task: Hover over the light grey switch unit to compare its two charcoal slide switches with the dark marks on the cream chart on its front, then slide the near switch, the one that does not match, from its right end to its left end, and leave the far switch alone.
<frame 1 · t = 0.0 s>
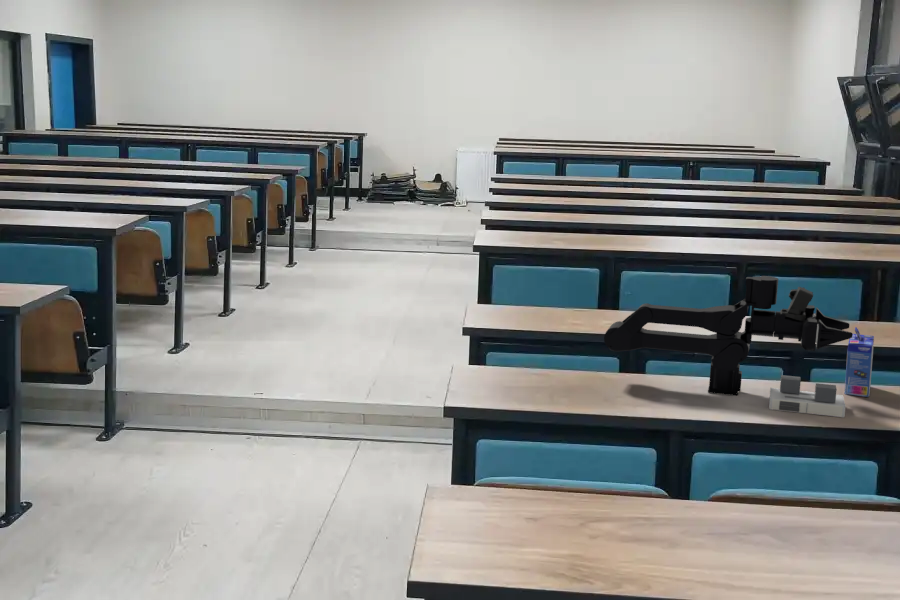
hand: (850, 330, 205), 17 cm above the table, tool horizontal, fingers open, 9 cm apart
switch far: (790, 384, 207), point 4 cm above the table, slide at 0.0 cm
switch near: (825, 392, 201), point 4 cm above the table, slide at 7.0 cm
switch unit: (805, 407, 205), on the table
ink cartridge box: (856, 391, 218), on the table
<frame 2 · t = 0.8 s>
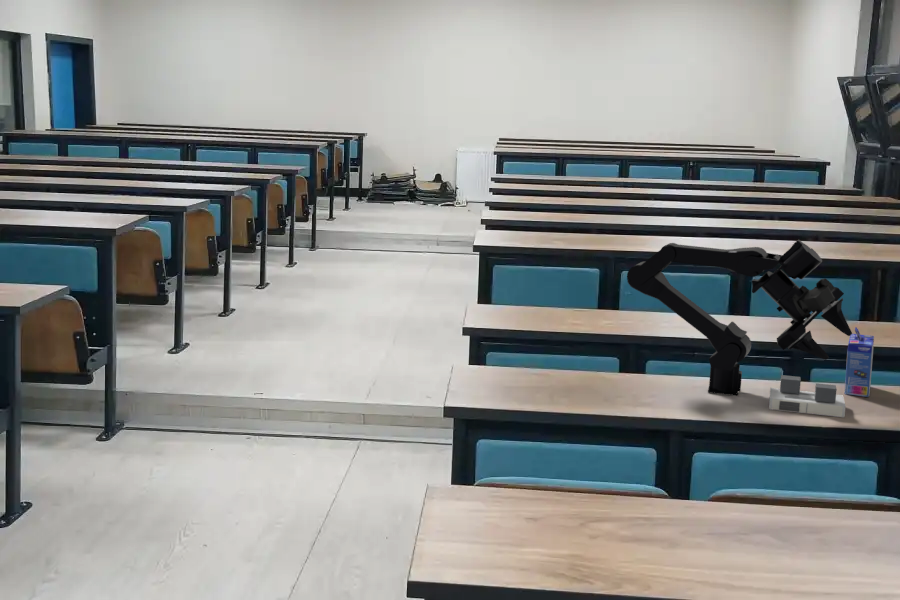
hand: (839, 346, 203), 14 cm above the table, tool tilted 50°, fingers open, 9 cm apart
nothing on the table moved.
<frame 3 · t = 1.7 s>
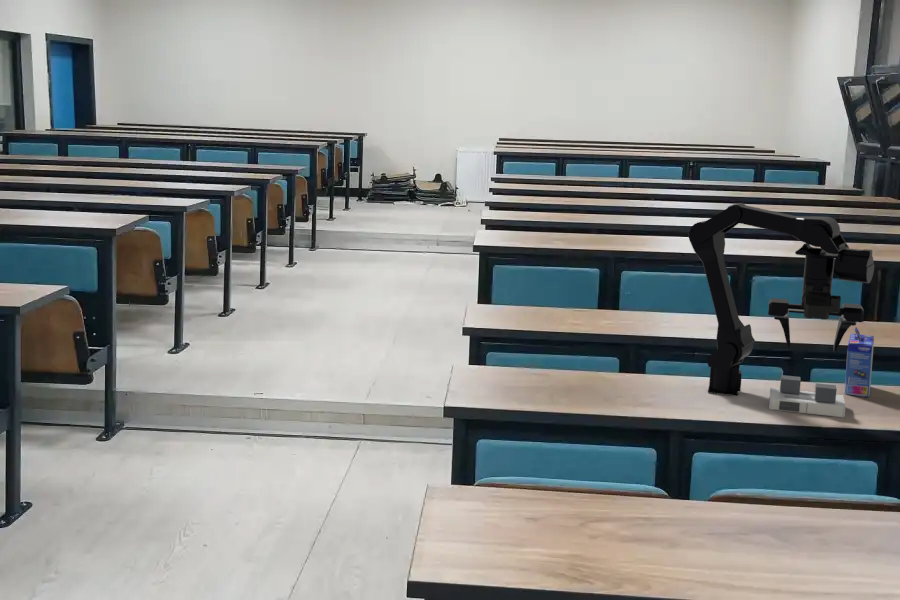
hand: (811, 349, 202), 13 cm above the table, tool pointing down, fingers open, 9 cm apart
nothing on the table moved.
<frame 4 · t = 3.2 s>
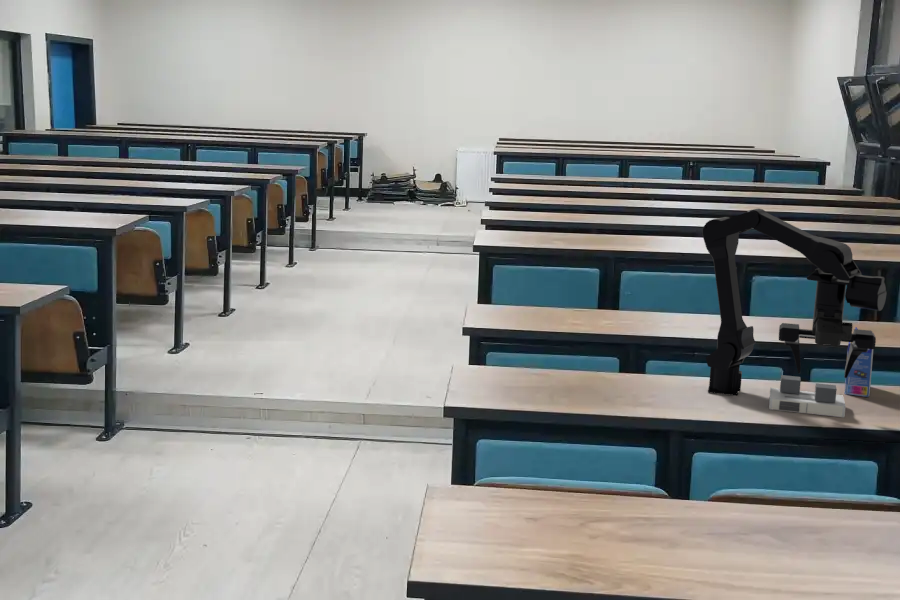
hand: (822, 375, 201), 8 cm above the table, tool pointing down, fingers open, 9 cm apart
nothing on the table moved.
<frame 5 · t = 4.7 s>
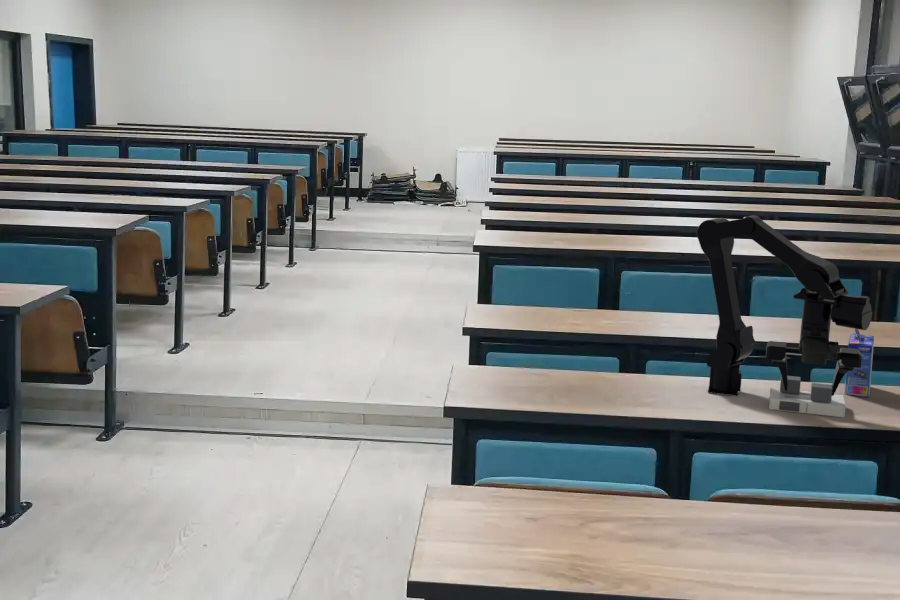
hand: (808, 393, 202), 4 cm above the table, tool pointing down, fingers open, 9 cm apart
switch near: (821, 392, 201), point 4 cm above the table, slide at 6.2 cm, touching gripper
everything else where it was.
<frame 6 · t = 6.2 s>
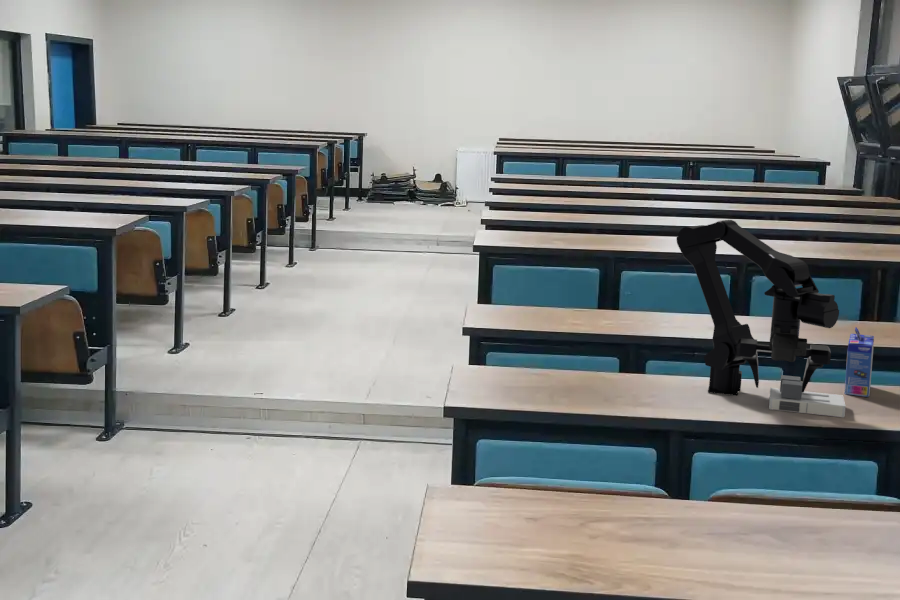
hand: (779, 389, 204), 4 cm above the table, tool pointing down, fingers open, 9 cm apart
switch near: (791, 389, 203), point 4 cm above the table, slide at 0.3 cm, touching gripper
everything else where it was.
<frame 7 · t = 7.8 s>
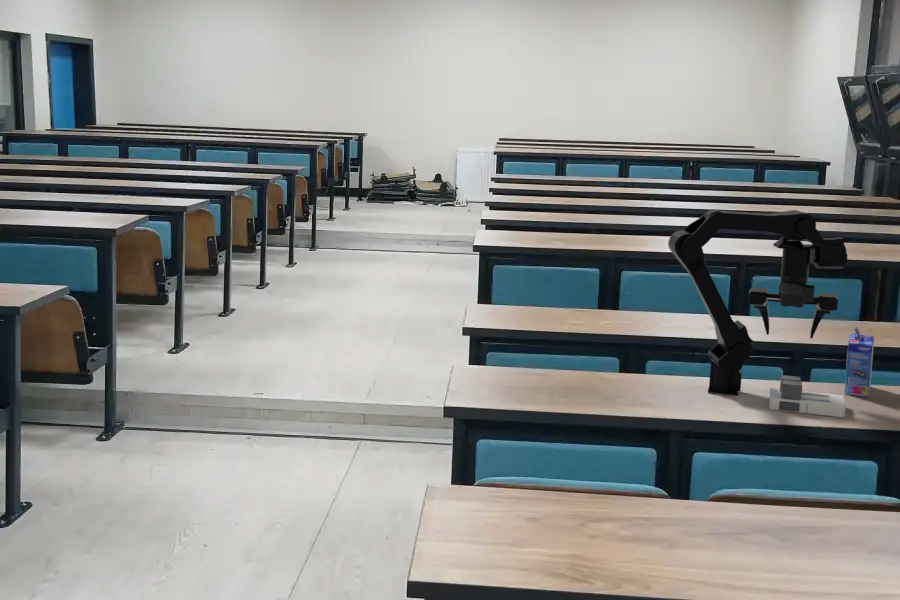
hand: (789, 336, 213), 13 cm above the table, tool pointing down, fingers open, 9 cm apart
switch near: (791, 389, 203), point 4 cm above the table, slide at 0.2 cm
everything else where it was.
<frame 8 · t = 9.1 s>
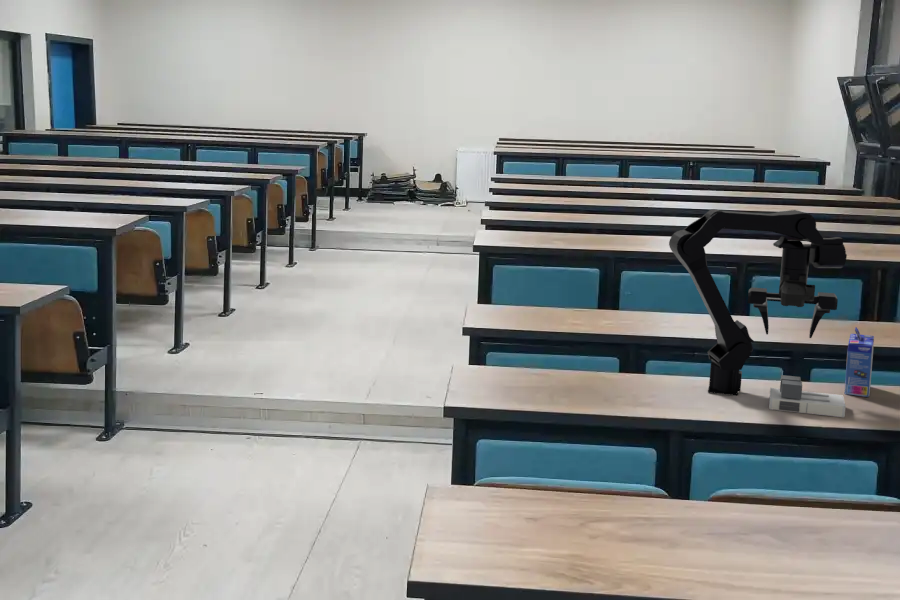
hand: (788, 335, 214), 13 cm above the table, tool pointing down, fingers open, 9 cm apart
nothing on the table moved.
at the end: switch near slide at 0.2 cm; switch far slide at 0.0 cm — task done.
